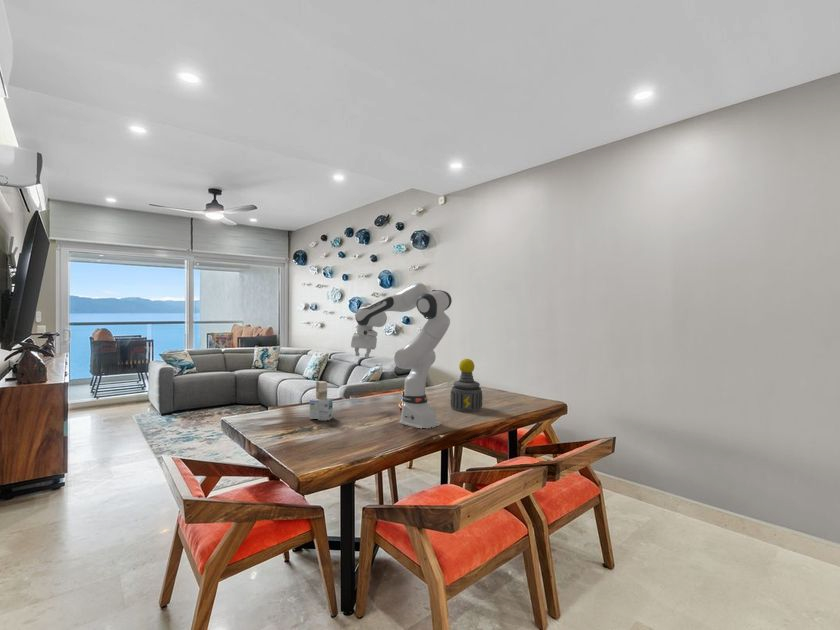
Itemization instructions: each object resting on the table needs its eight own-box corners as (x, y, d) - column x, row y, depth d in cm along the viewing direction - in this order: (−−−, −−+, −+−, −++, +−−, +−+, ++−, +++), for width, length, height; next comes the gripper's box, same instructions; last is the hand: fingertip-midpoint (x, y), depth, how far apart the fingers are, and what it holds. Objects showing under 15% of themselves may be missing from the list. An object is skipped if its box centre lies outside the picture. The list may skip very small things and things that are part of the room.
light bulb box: (332, 417, 226) (333, 397, 226) (328, 420, 220) (329, 400, 220) (313, 416, 228) (314, 396, 227) (309, 420, 221) (309, 399, 221)
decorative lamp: (449, 404, 261) (450, 356, 260) (480, 405, 260) (481, 357, 260) (450, 412, 242) (451, 360, 242) (483, 413, 241) (484, 360, 241)
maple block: (327, 399, 223) (327, 382, 223) (319, 399, 220) (320, 382, 220) (322, 397, 227) (323, 380, 227) (315, 398, 224) (316, 381, 224)
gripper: (349, 331, 242) (347, 355, 241) (370, 332, 227) (367, 357, 226) (358, 332, 247) (356, 355, 245) (379, 333, 231) (377, 358, 230)
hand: (361, 356), depth 236 cm, fingers open, 8 cm apart
